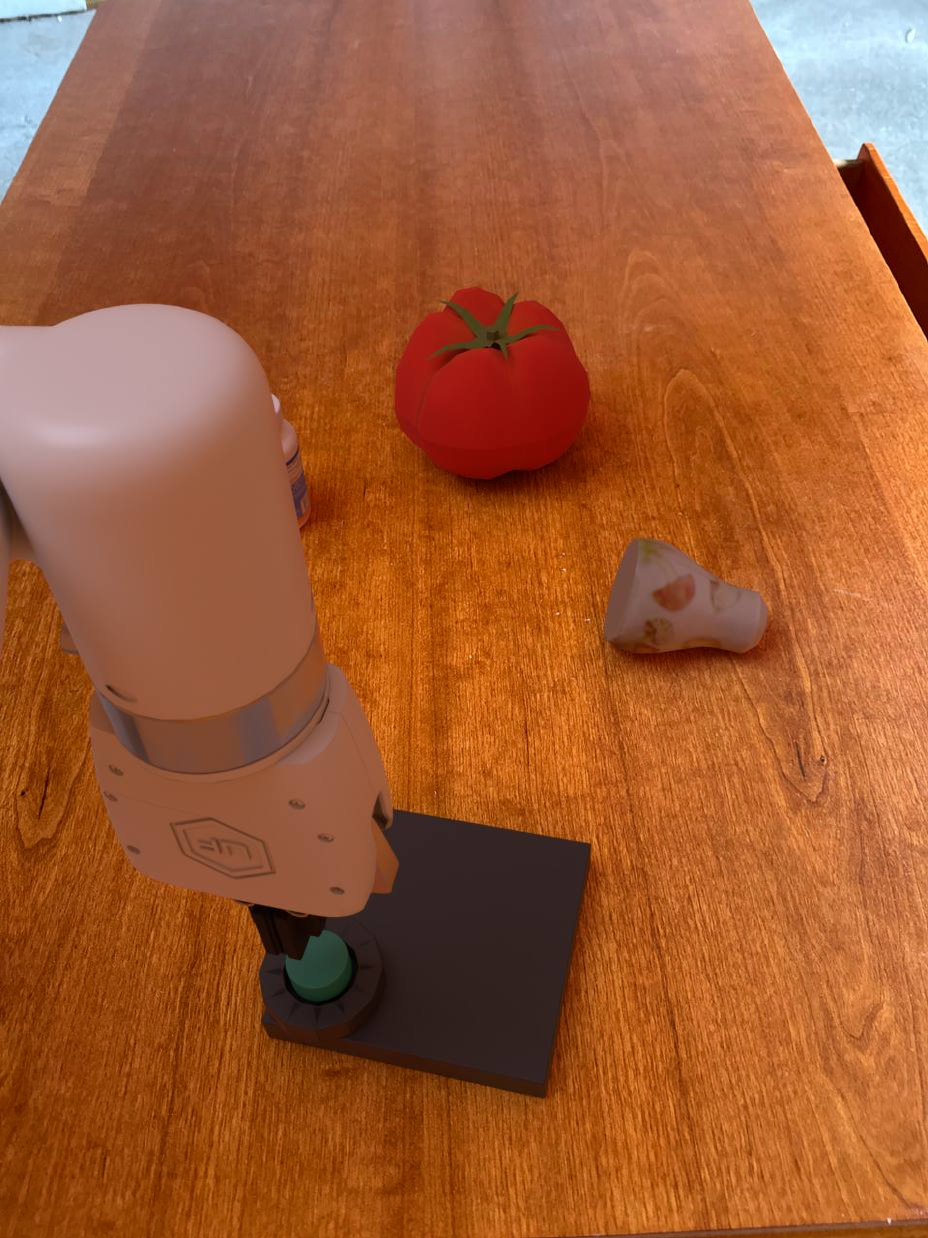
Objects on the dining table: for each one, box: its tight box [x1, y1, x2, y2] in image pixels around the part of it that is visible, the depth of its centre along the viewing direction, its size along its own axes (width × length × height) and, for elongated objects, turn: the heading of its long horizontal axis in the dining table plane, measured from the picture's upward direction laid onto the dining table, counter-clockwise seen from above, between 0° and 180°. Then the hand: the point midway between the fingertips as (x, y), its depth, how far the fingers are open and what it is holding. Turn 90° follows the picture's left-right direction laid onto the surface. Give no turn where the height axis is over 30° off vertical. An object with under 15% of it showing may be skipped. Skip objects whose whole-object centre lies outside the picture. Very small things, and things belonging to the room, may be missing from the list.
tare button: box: [286, 930, 352, 1002], centre depth 55 cm, size 3×3×2 cm
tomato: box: [394, 285, 592, 480], centre depth 82 cm, size 13×14×12 cm
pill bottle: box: [271, 393, 312, 530], centre depth 79 cm, size 5×5×10 cm
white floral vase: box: [603, 537, 769, 654], centre depth 71 cm, size 8×10×10 cm
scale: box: [257, 808, 592, 1100], centre depth 58 cm, size 14×13×4 cm
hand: (295, 927), depth 52 cm, fingers closed
